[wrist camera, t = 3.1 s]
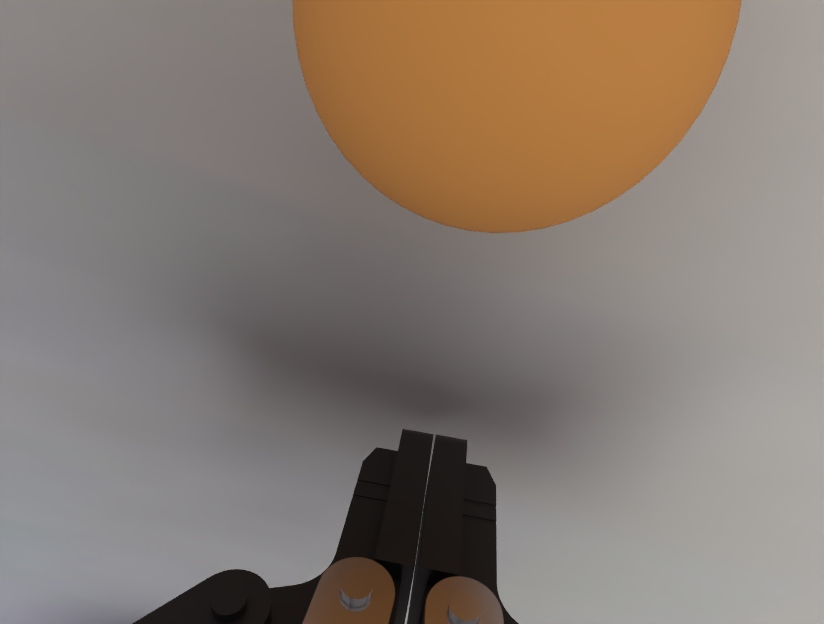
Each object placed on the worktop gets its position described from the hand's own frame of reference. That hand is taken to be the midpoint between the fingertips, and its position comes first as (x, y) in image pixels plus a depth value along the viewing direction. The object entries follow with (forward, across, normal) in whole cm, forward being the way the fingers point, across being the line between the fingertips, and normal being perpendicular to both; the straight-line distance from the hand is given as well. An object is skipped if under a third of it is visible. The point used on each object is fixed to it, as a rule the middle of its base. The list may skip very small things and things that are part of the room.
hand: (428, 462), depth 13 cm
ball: (-1, 0, -9) cm, 9 cm away
